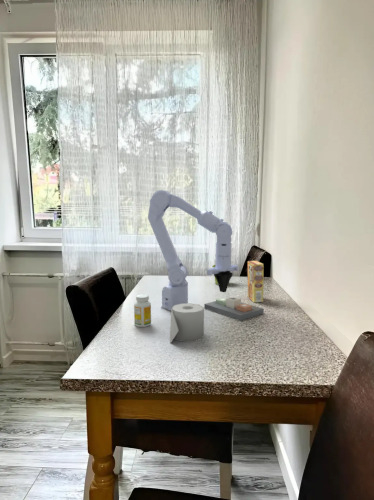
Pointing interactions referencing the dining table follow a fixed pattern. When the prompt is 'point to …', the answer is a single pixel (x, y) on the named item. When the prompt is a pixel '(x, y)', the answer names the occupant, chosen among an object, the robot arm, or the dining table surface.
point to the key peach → (244, 307)
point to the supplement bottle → (142, 311)
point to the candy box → (255, 281)
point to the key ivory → (233, 302)
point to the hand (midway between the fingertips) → (222, 291)
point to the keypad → (233, 311)
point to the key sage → (221, 301)
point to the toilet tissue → (187, 322)
